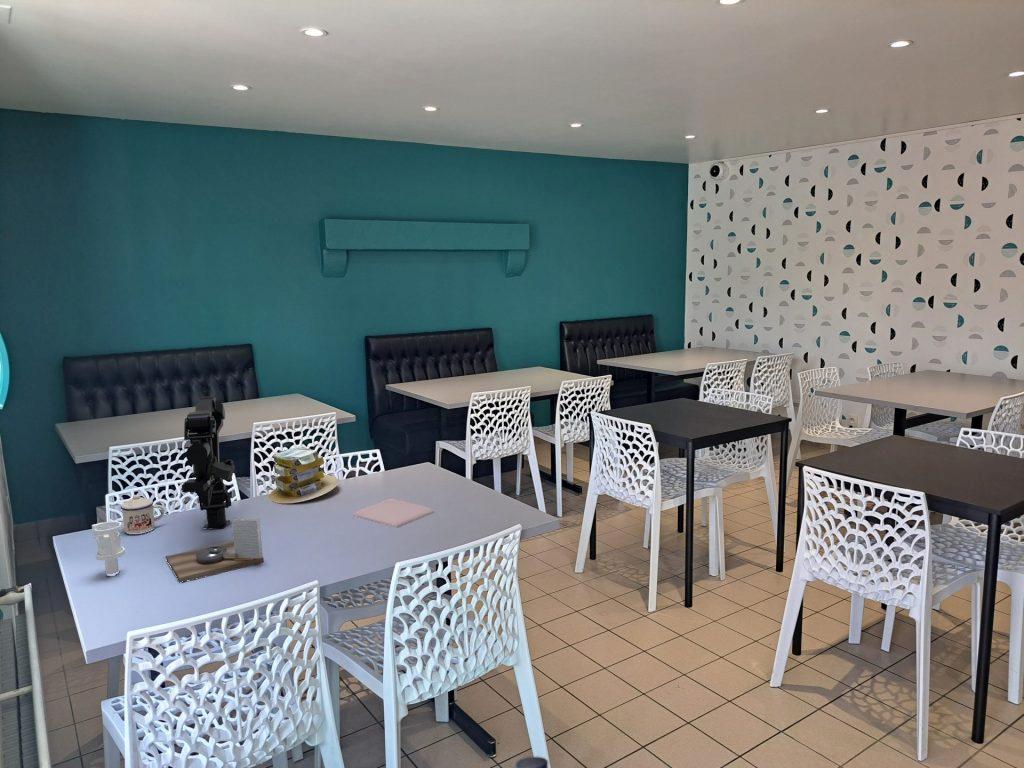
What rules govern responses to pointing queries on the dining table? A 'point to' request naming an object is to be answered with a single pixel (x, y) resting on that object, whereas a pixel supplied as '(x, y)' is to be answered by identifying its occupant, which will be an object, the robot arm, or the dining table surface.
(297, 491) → the stacked boxes on plate
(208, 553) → the lever
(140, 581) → the dining table surface
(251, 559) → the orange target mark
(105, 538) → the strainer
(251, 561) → the walnut stand plate
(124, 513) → the teacup with lid
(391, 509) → the panel
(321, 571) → the dining table surface
